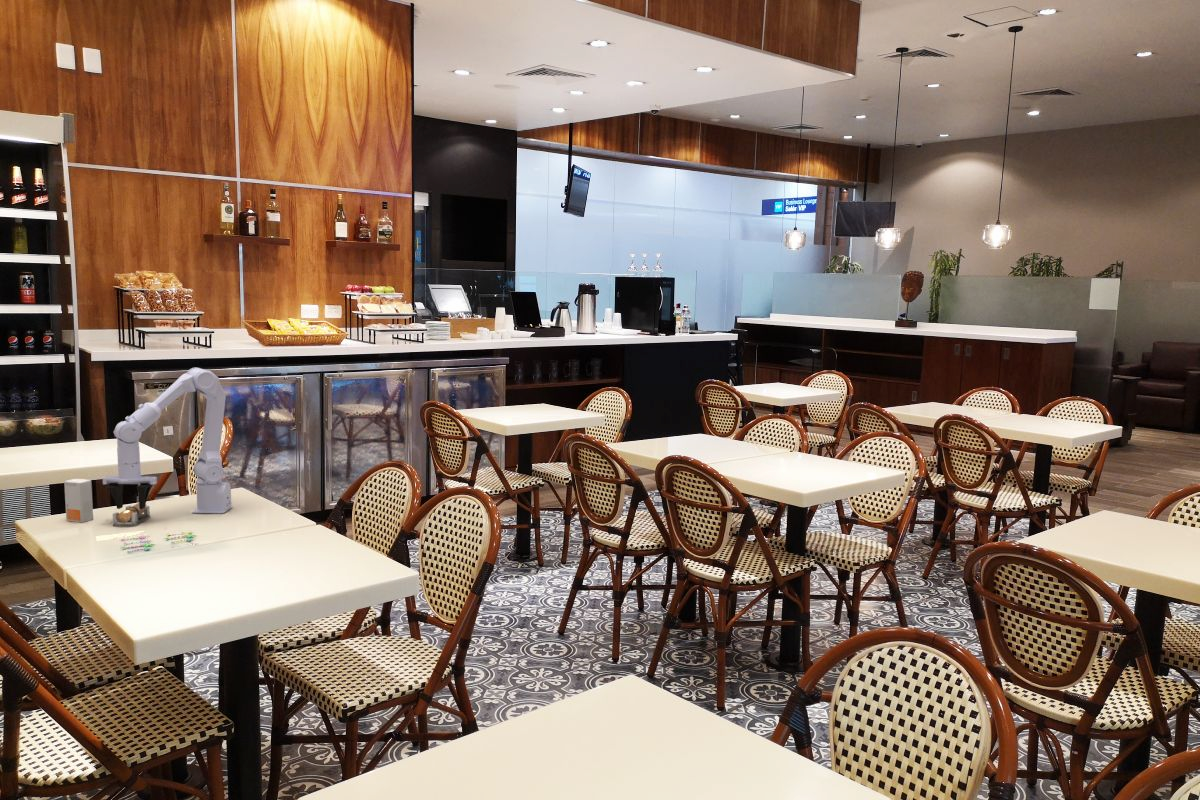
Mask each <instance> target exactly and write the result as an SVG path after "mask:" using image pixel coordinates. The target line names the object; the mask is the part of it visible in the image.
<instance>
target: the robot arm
mask: <svg viewBox="0 0 1200 800" xmlns="http://www.w3.org/2000/svg"><path fill="white" fill-rule="evenodd" d="M221 384H222V383H220V378H219V377H218V375H216V374H215V373H214V372H213V371H211V370H209V369H203V368H201V367H192V368H190V369H188V370H187V372H186V373H183V374H181V376H179V377H178V378H177V379H176V380H175V381H173V383H172V384H171V385H170V386H169V387H168V388H167V389H165V390H164V391H163V392H162V393H161V395H159V396H158V397H157V398H156V399H155V400H154V401H153V402H145V403H144V404H143V403H140V404H139V405H138V406H137V407H138V409H136V410H135V411H134V412H133V413H132V414H130V415H127V416H126V417H125V418H124V419H125V420H124V421H123V420H122V421H120V422H118V423H117V424H116V426H115V428H114V430H113V434H114V435H113V436H114V437H115V438H116V444H117V448H116V452H117V469H118V471H117V472H118V475H115V476H113V475H112V476H103V477H102V485H108V486H106V489H107V491H108V492H109V493H110V495H111V497H112V498H113V500H114V504H115V506H116V509H117V510H120V509H122V508H123V507H124V499H123V494H124V493H123V491H124V485H137V486H136V490H137V494H138V503H139V507H140V509H143V508H145V505H147V500H148V497H149V493H150V491H151V489H152V487H153V485H156V484H157V483H158V480H157V479H158V477H157V476H147V475H142V474H141V460H140V459H141V457H140V455H141V454H140V444H139V443H140V442H139V440H140V439H141V437H142V434H143V432H145V431H146V430H147V429H148V428H150V427H151V426H152V425H153V424H154V423H155V422H156V421H157V420H159V419H160V418H161V417H162V411H163V410H164V409H165V408H167V407H168V406H169V405H170V404H172V403H173V402H174V401H175V400H177V399H178V398H179V397H180V396H182V395H184V394H186V393H187V394H188V393H194V392H199V393H200V394H201V395H202V396H203V397H204V398H205V399H206V406H205V415H204V423H203V426H204V427H203V434H202V442H201V450H200V452H198V456H197V459H196V460H197V461H196V462H195V463H194V465H193V468H192V469H193V473H194V475H195V477H197V479H196V481H195V482H196V484H195V486H196V508H195V509H194V510H193V511H192V514H225V513H226V512H227V511H229V510H230V509H232V508H233V505H232V487H231V484H230V482H225V481H223V480H222V479H223V477H224V473H225V470H224V468H223V463H222V462H223V459H222V455H221V452H220V450H221V444H222V443H221V442H222V434H223V424H224V415H225V408H226V399H227V398H226V397H227V396H226V392H225V390H224V387H222V385H221Z"/></svg>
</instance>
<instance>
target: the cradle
mask: <svg viewBox="0 0 1200 800" xmlns="http://www.w3.org/2000/svg"><path fill="white" fill-rule="evenodd" d="M132 506H133V505H127V506H125V510H126V509H128V508H130V507H132ZM150 511H151V510H150V505H147V506H145V508H144V513H142V514H140V515H138V516H137V513H132V514H131V520H130V521H128V522H126V523H120V522H119V521H118V520H117V515H118V514H119V513H120V512H113V513H112V527H137V526H138V525H140V524H141V523H143V522H145V521H147V520H148V519H150V518H151V515H150V514H151V512H150ZM146 519H147V520H146Z"/></svg>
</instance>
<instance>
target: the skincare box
mask: <svg viewBox="0 0 1200 800" xmlns="http://www.w3.org/2000/svg"><path fill="white" fill-rule="evenodd" d="M63 482H64V501H65V517H66V518H65V521H68V522H69V521H70V522H75V523H81V524H82V523H85V522H86V523H87V522H90V521H93V520H94V507H93V505H94V503H93V485H92V479H85V478H72V479H68V480H65V481H63ZM89 520H90V521H89Z"/></svg>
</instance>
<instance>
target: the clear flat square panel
mask: <svg viewBox="0 0 1200 800" xmlns="http://www.w3.org/2000/svg"><path fill="white" fill-rule="evenodd" d="M144 531H145V530H139V531H138V530H137V531H130V532H129V531H127V532H121V533H113V534H111V533H110V534H103V535H95V540H96V542H100V541H108V540H109V541H110V540H114V539H113V538H116V537H118V538H116V539H120V541H121V542H122V541H124V542H123V546H120V549H122V551H123V550H126V549H132V550H127V553H132V552H136V551H138V552H139V551H143V550H144V551H146V552H147V551H150V550H151V551H152V547H153V548H154V546H155V544H153V543H152V542H151V540H149V539H148V538H149V537H151V536H149V535H148V534H146V535H147V536H146V535H139V536H138V537H133V536H132V535H136V534H139V533H141V532H144ZM189 532H190V534H188V535H187V534H185V535H183V534H181V535H182V536H179V535H178V536H174V537H170V536H168V535H169V533H166V537H165V538H164V540H166V541H169V540H174V538H177V539H180V540H175V541H171V544H175V543H177V542H183V541H184V542H186V541H187V542H191V541H195V540H196V539H197V538H195V539H194V537H195V536H194V535H195V534H193V533H194V532H193V531H189ZM184 533H188V531H185V532H184ZM125 535H126V536H125ZM123 536H125V537H123ZM127 536H130V537H131V538H128V537H127ZM180 537H181V538H182V537H184V538H185V539H181V538H180ZM189 537H191V538H189ZM125 538H126V539H125ZM146 538H147V539H146ZM139 539H141V540H140V541H138V542H137V541H136V542H135V543H136V544H139V545H134V544H133V543H134V542H129V543H127V542H126V541H129V540H139ZM143 539H146V540H143ZM196 541H197V540H196ZM145 542H147V543H145ZM125 544H126V545H125ZM190 544H192V545H193V544H195V543H194V542H191V543H190ZM127 545H131V546H127ZM126 546H127V547H126ZM147 546H149V547H147ZM138 547H140V548H138ZM141 547H143V548H141ZM134 548H137V549H134Z"/></svg>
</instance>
